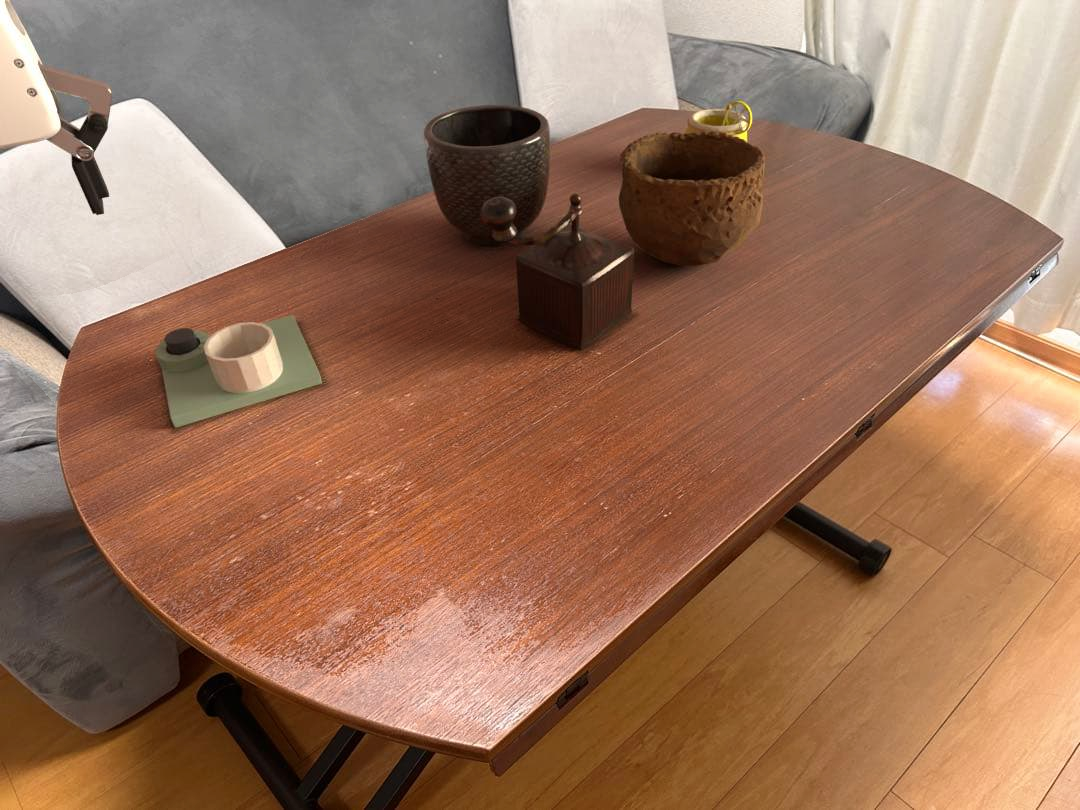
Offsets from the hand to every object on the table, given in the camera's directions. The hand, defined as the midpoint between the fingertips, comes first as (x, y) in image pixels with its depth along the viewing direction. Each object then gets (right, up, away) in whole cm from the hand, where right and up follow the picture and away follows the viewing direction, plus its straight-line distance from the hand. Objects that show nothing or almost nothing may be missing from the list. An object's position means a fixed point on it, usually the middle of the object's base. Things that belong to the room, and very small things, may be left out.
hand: (28, 222), depth 56 cm
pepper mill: (+40, -4, +38) cm, 55 cm away
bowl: (+58, +7, +50) cm, 77 cm away
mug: (+67, +27, +73) cm, 103 cm away
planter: (+31, +12, +57) cm, 66 cm away
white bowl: (+5, -10, +30) cm, 32 cm away
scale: (+3, -10, +33) cm, 34 cm away
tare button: (-3, -7, +32) cm, 33 cm away
